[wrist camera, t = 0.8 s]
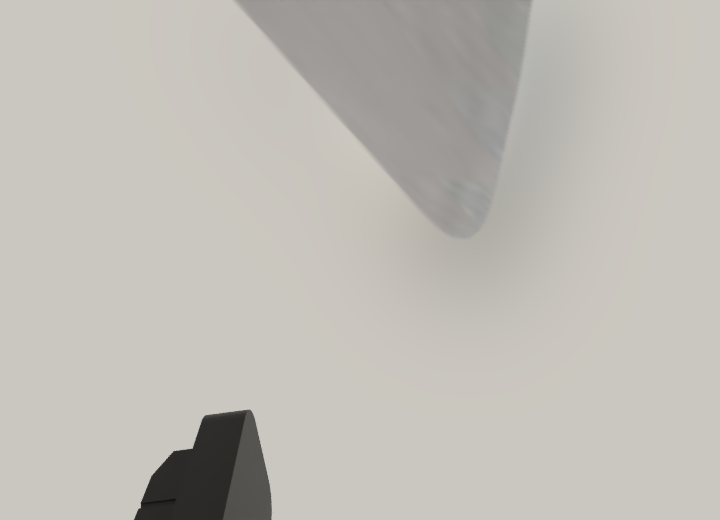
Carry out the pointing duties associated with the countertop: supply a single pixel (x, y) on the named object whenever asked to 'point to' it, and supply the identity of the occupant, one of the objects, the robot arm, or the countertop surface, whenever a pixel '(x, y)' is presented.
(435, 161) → the countertop surface
